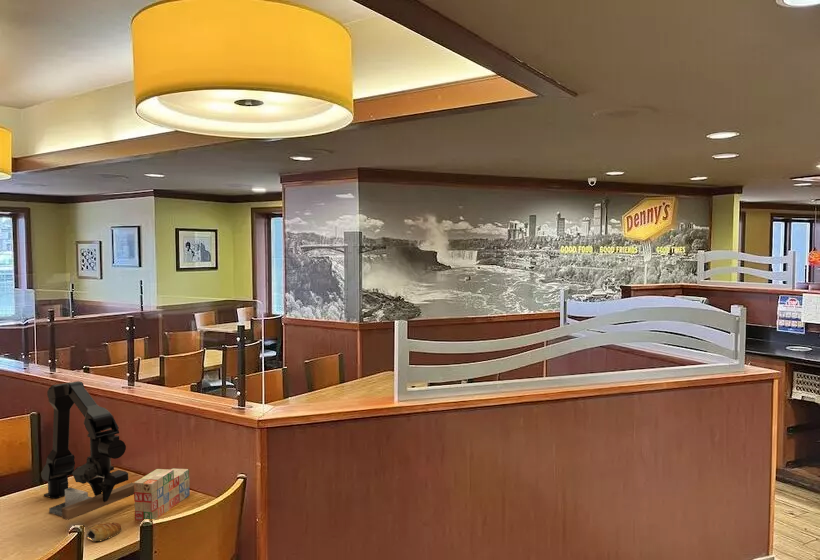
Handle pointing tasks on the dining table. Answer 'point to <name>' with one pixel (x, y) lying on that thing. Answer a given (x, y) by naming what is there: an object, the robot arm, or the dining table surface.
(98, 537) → the pastry
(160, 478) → the stack of blocks
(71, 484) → the dining table surface
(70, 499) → the fulcrum stand
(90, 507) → the walnut rod
